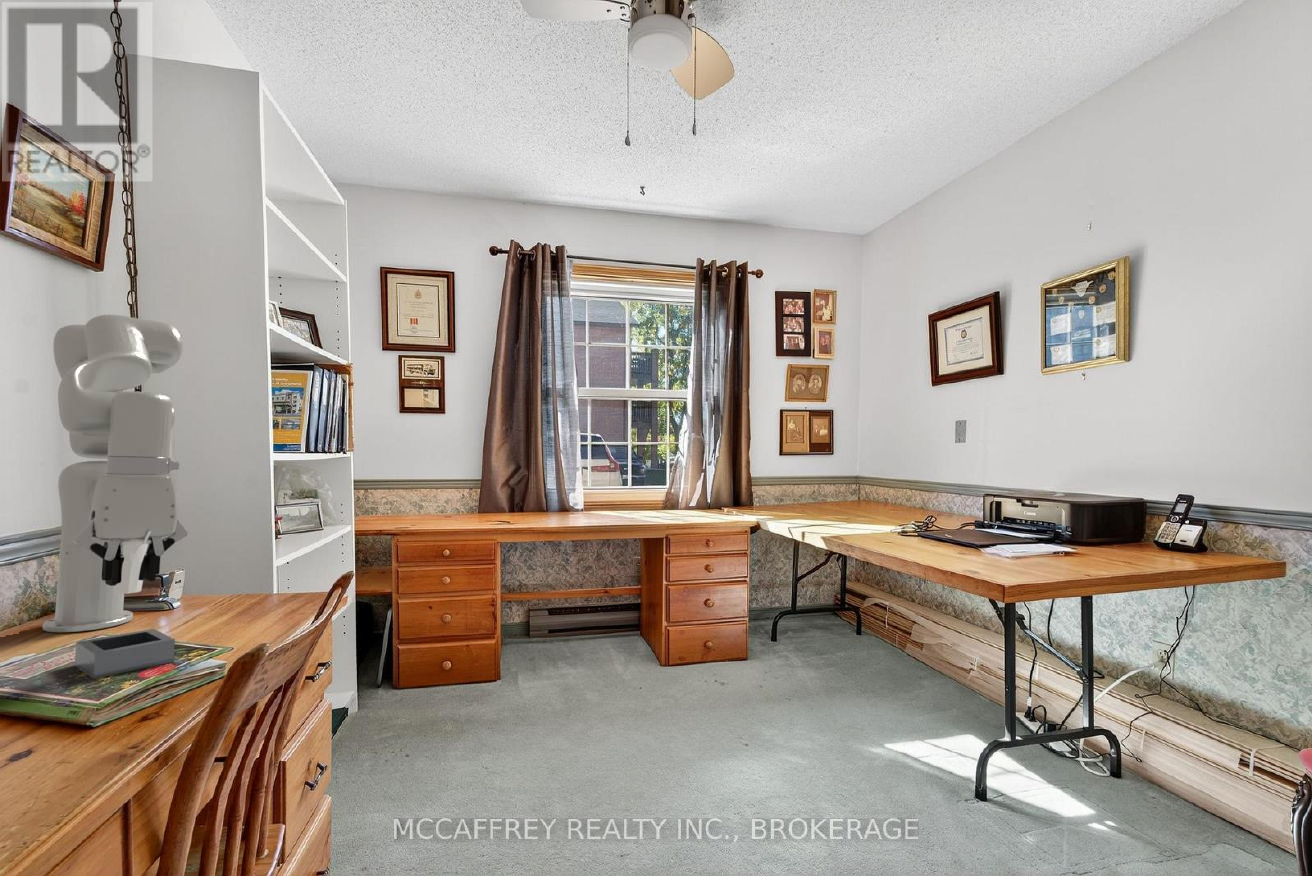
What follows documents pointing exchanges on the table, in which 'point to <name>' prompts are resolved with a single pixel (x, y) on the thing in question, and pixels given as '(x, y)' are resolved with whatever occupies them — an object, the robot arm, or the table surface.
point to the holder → (123, 653)
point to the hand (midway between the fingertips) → (130, 581)
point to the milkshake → (132, 564)
